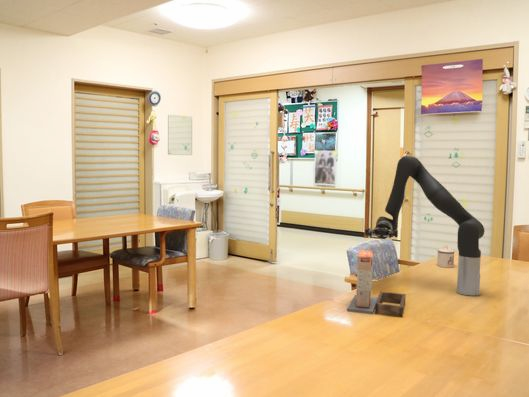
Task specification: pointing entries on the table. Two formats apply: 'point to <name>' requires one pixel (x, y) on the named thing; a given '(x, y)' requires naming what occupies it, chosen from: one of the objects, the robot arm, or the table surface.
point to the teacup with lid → (445, 257)
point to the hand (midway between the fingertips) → (379, 235)
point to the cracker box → (364, 278)
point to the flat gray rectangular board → (370, 310)
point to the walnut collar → (387, 308)
